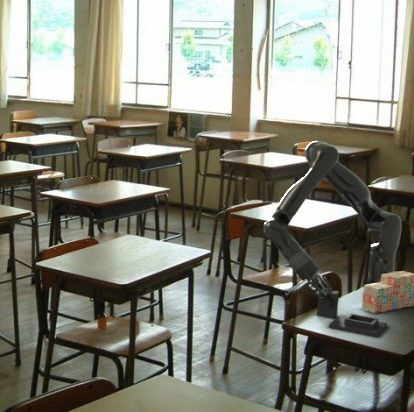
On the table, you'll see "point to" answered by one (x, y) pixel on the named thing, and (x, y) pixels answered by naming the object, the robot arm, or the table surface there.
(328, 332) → the table surface
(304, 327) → the table surface
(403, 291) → the stack of blocks
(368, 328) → the base pad
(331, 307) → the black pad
